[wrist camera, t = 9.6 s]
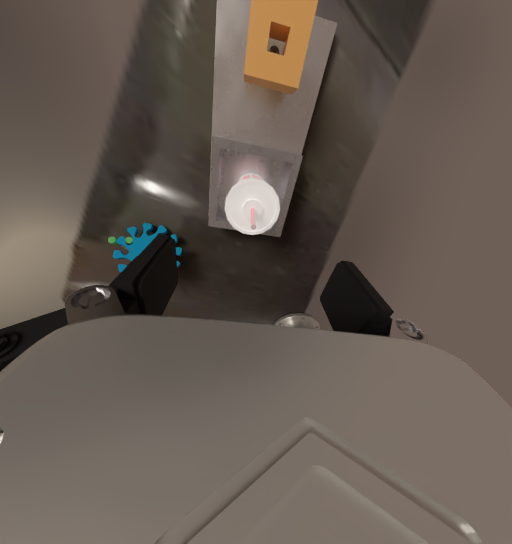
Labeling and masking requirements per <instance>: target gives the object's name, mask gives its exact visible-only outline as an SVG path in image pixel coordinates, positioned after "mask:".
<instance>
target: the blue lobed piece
mask: <svg viewBox="0 0 512 544" xmlns="http://www.w3.org/2000/svg"><path fill="white" fill-rule="evenodd" d="M143 228H144V231H143V234H142V236H141V237H140V238H136V236H137V234H138V229H137V228H136V227H130V228H128V229H127V231H128V232H129V233H130V234H131V236H132V238H133V239H132V238H131V237H127V238H124V237H123V236H121V237H119V238H118V239H116V238H115V237H109V238H108V241H109V242H110V243H111V244H113V245H118V244H119V245H120V246H121V247H123V248H125V249H127V250H129V254H128V255H124V254H123V253H122V252H121V251H119V250H115V251H114V254H113V257H114V258H116V259H129V260H131V261H132V260H133V259H134V258H135V257H136V256H138V255H139V254H140V253H141V252H142V251H143V250H144V249H145V248H146V247H147V246H148V245H149V244H150V242H151V241H152V240H153V239H154V238H155V237H156V236H157V235H158V234H166V233H167V232H168V231H167V229H166V228H165V227H164V226H162V225H161V226H159V228H158V230H157V232H156V233H155V234H153V235H151V236H148V232H150V231H152V230H153V226H152V225H151V224H149V223H144V224H143ZM171 237H172V239H175V243H177V242H178V240H177V237H176V235H175V234H173V235H171ZM181 254H182V248H180V247H177V248H176V255H178V256H181ZM179 266H180V263H179V261H177V268H178V267H179ZM126 267H127V265H124V264H120V265H118V269H119V271H120V272H122V271H123V270H124V269H125V268H126Z"/></svg>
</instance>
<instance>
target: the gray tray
mask: <svg viewBox="0 0 512 544" xmlns="http://www.w3.org/2000/svg"><path fill="white" fill-rule="evenodd" d="M250 8H251V0H217V12H216V38H215V64H214V90H213V116H212V142H211V168H210V194H209V226H212V227H219V228H225V229H231V230H236V229H235V228H233V226H232V225H231V224H230V222H229V221H228V220H227V216H226V213H225V201H226V197H227V195H228V193H229V191H230V190H231V188H232V187H233V186H234V185H235V184H237V183H238V181H239V179H240V178H241V177H242V176H244V175H245V174H250V173H253V174H257V175H259V176H260V177H261V178H263V180H264V181H265V182H266V183H268V184H269V185H270V186H272V187H273V189H274V190H275V192H276V194H277V196H278V198H279V204H280V212H279V215H278V219H277V221H276V222H275V223H274V225H273V226H272V227H271V228H270V229H268V230H267V231H265V232H264V233H261V234H263V235H270V236H276V237H280V236H281V233H282V229H283V226H284V222H285V219H286V215H287V211H288V208H289V204H290V201H291V197H292V194H293V190H294V186H295V183H296V179H297V176H298V172H299V169H300V165H301V161H302V158H303V156H302V155H301V154H302V150H303V147H304V143H305V140H306V136H307V132H308V129H309V125H310V121H311V118H312V114H313V110H314V107H315V103H316V99H317V96H318V92H319V89H320V85H321V81H322V78H323V74H324V70H325V67H326V63H327V59H328V56H329V52H330V49H331V45H332V41H333V38H334V34H335V30H336V27H337V23H336V22H332V21H329V20H326V19H323V18H320V17H317V16H315V17H314V21H313V25H312V30H311V34H310V39H309V43H308V47H307V52H306V56H305V61H304V65H303V69H302V74H301V78H300V83H299V87H298V89H297V90H296V91H295V92H294V93H293V94H288V93H284V92H280V91H277V90H273V89H269V88H265V87H261V86H258V85H254V84H250V83H246V82H244V67H245V57H246V47H247V37H248V27H249V18H250ZM284 43H285V42H282V41H278V40H275V39H272V38H269V39H268V46H267V51H269V52H272V53H276V54H279V55H282V54H283V49H284Z"/></svg>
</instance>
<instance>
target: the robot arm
mask: <svg viewBox="0 0 512 544" xmlns="http://www.w3.org/2000/svg"><path fill="white" fill-rule="evenodd" d="M177 282H178V273H177V258H176V244H175V239H172V237H171V236H170V235H164V234H158V235H157V236H156V237H155V238H154V239H153V240H152V241H151V242H150V244H149V245H148V246H147V247H146V248H145V249H144V250H143V251H142V252H141V253H140V254H139V255H138V256H136V257H135V258H134V259H133V260H132V261H131V262H130V264H129V265H128V266H127V267H126V268H125V269H124V270H123V271H122V272H121V273H120V274H119V275H118V276H117V277H116V278H115V279H114V280H113V281H112V283H111V284H110V285H109V286H106V285H92V286H87V287H84V288H81V289H79V290H77V291H75V292H73V293H72V294H71V295H69V296H68V298H67V299H66V300H65V308H63V309H60V310H57V311H54V312H51V313H49V314H45V315H42V316H39V317H37V318H33V319H31V320H27V321H24V322H21V323H18V324H15V325H12V326H9V327H6V328H3V329H0V544H512V408H511V407H510V406H509V405H508V404H507V403H506V402H505V401H504V400H503V399H502V398H501V397H500V396H499V395H498V394H497V393H496V392H495V391H494V390H493V389H492V388H491V387H490V386H489V385H488V384H487V383H486V382H485V381H484V380H483V379H482V378H481V377H480V376H479V375H478V374H477V373H476V372H475V371H473V370H472V369H471V368H470V367H469V366H468V365H467V364H465V363H464V362H463V361H462V360H460V359H459V358H457V357H455V356H453V355H451V354H449V353H447V352H445V351H443V350H441V349H438V348H436V347H433V346H431V345H428V340H427V336H426V334H425V333H424V331H422V329H421V328H420V327H418V326H417V325H416V324H414V323H413V322H411V321H409V320H407V319H405V318H401V317H395V318H393V319H391V318H390V316H391V315H392V313H394V311H393V310H392V309H391V308H390V307H389V305H388V304H387V303H386V302H385V301H384V299H383V298H382V297H381V296H380V295H379V293H378V292H377V291H376V290H375V289H374V287H373V286H372V285H371V284H370V283H369V282H368V280H367V279H366V278H365V277H364V275H363V274H362V273H361V272H360V271H359V269H358V268H357V267H356V266H355V265H354V264H353V263H352V262H348V261H341V262H340V263H337V265H336V267H335V269H334V270H333V272H332V274H331V276H330V278H329V280H328V282H327V284H326V286H325V288H324V290H323V292H322V294H321V296H320V301H321V303H322V306H323V308H324V310H325V312H326V315H327V317H328V319H329V322H330V324H331V326H332V329H333V331H330V330H320V325H319V322H318V320H317V319H316V318H315V317H313V316H311V315H309V314H305V313H293V314H288V315H285V316H283V317H281V318H279V319H278V320H277V321H276V322H275V323H274V324H273V325H267V324H256V323H245V322H234V321H222V320H211V319H200V318H188V317H177V316H162V314H163V312H164V310H165V308H166V306H167V304H168V302H169V300H170V298H171V296H172V294H173V292H174V290H175V288H176V285H177Z"/></svg>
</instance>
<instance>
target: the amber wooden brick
mask: <svg viewBox="0 0 512 544" xmlns="http://www.w3.org/2000/svg"><path fill="white" fill-rule="evenodd" d="M317 3H318V0H251V8H250V18H249V27H248V37H247V47H246V57H245V67H244V82H246V83H250V84H254V85H258V86H261V87H265V88H269V89H273V90H277V91H280V92H284V93H288V94H293V93H294V92H295V91H296V90H297V89H298V87H299V83H300V78H301V74H302V69H303V65H304V61H305V56H306V52H307V47H308V43H309V39H310V34H311V30H312V25H313V21H314V17H315V12H316V8H317ZM269 38H272V39H275V40H278V41H282V42H285V43H284V49H283V54H282V55H279V54H276V53H272V52H269V51H267V46H268V39H269Z"/></svg>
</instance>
